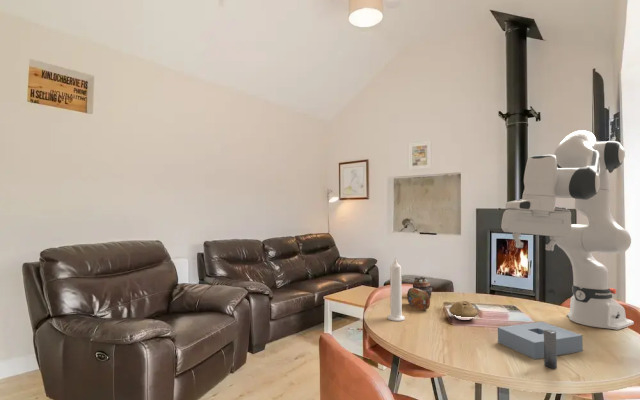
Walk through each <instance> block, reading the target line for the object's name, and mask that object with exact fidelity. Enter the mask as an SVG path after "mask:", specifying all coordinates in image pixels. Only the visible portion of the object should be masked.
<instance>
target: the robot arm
mask: <svg viewBox="0 0 640 400" xmlns="http://www.w3.org/2000/svg"><path fill="white" fill-rule="evenodd" d="M625 157H626V153H625V149H624V146H623V143H622V144H621V143H620V142H619V141H613V140H612V141H611V140H608V141H597V138H596V136H595V135H594V134H593V132H590V131H587V130H576V131H574V132H572V133H569V134H568V135H566V136H565V137H564V138H563V139H562V140H561V141H560V143H559V144H558V145H557V146H556V148H555V150H554V154H541V155H540V154H538V155H537V154H536V155H531V156H529V157H528V158H527V161H526V165H525V169H524V174H523V185H524V189H523V193H522V198H521V199H516V200H511V201H507V202H506V203H505V208H506V210H504V211H503V214H502V219H501V227H500V228H501V230H502V231H503V232H504V233H512V238H513V240H514V242H515V248H516V249H517V248H518V249H523V248H524V242H523V241H521V238H520V237H521V235H522V234H524V235H534V236H535V235H537V236H545V237H547V236H548V237H549V240H550V241H549V243H548V244H546V243H545V248H544V249H545V250H546V251H548V252H550V251H552V252H553V251H554V249H555V246H558V248H560V249H561V250H562V251H563V252H564V253H565V254H566V256H567V257H568V259H569V261H570V264H571V266H572V277H573V278H572V279H573V280H572V281H573V284H572V287H571V290H572V292H571V293H572V294H573V295H572V296H571V297H570V304H569V312H567V314H566V315H567V317H568V318H569V320H570V321H572V322H574V323H577V324H580V325H584V326H587V327H594V328H601V329H602V328H603V329H611V330H616V331H618V330H621V329H624V328H627V327H630V326H633V325H634V324H635V323H634V321H633V320H632V319H629V318H627V317H626V315H627V314H626V310H625V307H624V306H623V305H621V304H620V303H619V302H618V301H616V300H615V299H614V298H613V294H614V295H616V294H617V289H616V288H612V287H609V269H608V268H607V267H606V265H604V263H602V262H600V261H598V260H597V259H596V258H595V257H594V256H593V253H597V254H605V255H606V254H607V255H609V254H610V255H612V254H623V253H626V251H628V250H629V248H630V247H631V243H632V238H631V234H630V233H629V232H628V231H627V229H625V228H624V227H622V226H621V225H620V224H619V223H617V221H616V220H615V219H614V217H613V214H612V212H611V202H610V200H611V182H610V181H611V179H610V174H611V173H613V172H614V170H616V169H618V168H619V167H620V166H621V165H622V164H623V162H624V159H625ZM556 198H561V199H574V208H575V210H576V212H577V213H579V214H581V215H582V216H585V217H586V218H587V220H588V224H581V223H579V224H578V223H577V224H576V223H573V224H572V212H571V210H569V209H568V208H566V207H559V206H556Z"/></svg>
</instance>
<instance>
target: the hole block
mask: <svg viewBox="0 0 640 400" xmlns="http://www.w3.org/2000/svg"><path fill="white" fill-rule="evenodd" d="M544 330H552V331H555V332H556V348H557V356H561V355H568V354H573V353H574V354H575V353H579V352H583V351H584V350H583V349H584V347H583V345H584V344H583V338H584V337H583V335H582V334H580V333H577V332H574V331H571V330H568V329H565V328H563V327H559V326H557V325H554V324H550V323H548V322H545V321H537V322H536V321H535V322H529V323H522V324H520V323H519V324H513V325H507V326H506V325H505V326H498V327H497V342H498V343H499V344H501V345H503V346H505V347H508V348H510V349H512V350H514V351H515V352H517V353H520V354H522V355H525V356H527V357H528V358H530V359H533V360H538V359H539V360H540V359H544Z"/></svg>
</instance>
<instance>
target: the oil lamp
mask: <svg viewBox="0 0 640 400" xmlns="http://www.w3.org/2000/svg"><path fill="white" fill-rule="evenodd" d="M448 311H449V313H450V314H451V315H452V314H453V315H456V316H461V317H474V318H475V317H477V316H478V314H479V312H478V310H477V308H476V307H474V306H473V305H472V303H471V302H470V301H468V300H467V301H466V300H463V301H462V300H461V301H456V302H454V303H452V305H451V306H450V307H449V308H448ZM453 315H452V316H453Z"/></svg>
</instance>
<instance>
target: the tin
mask: <svg viewBox="0 0 640 400" xmlns="http://www.w3.org/2000/svg"><path fill="white" fill-rule="evenodd" d="M406 296H407V297H406V298H407V302H408V304H409V306H411V307H413V308H415V309H417V310H420V311H427V310H428V309H429V308H430V306H431V298H430V297H429V295H428V293H427V292H425V291H422V290H419V289H417V288H413V287H410V288H409V289H408V290H407V293H406Z"/></svg>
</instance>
